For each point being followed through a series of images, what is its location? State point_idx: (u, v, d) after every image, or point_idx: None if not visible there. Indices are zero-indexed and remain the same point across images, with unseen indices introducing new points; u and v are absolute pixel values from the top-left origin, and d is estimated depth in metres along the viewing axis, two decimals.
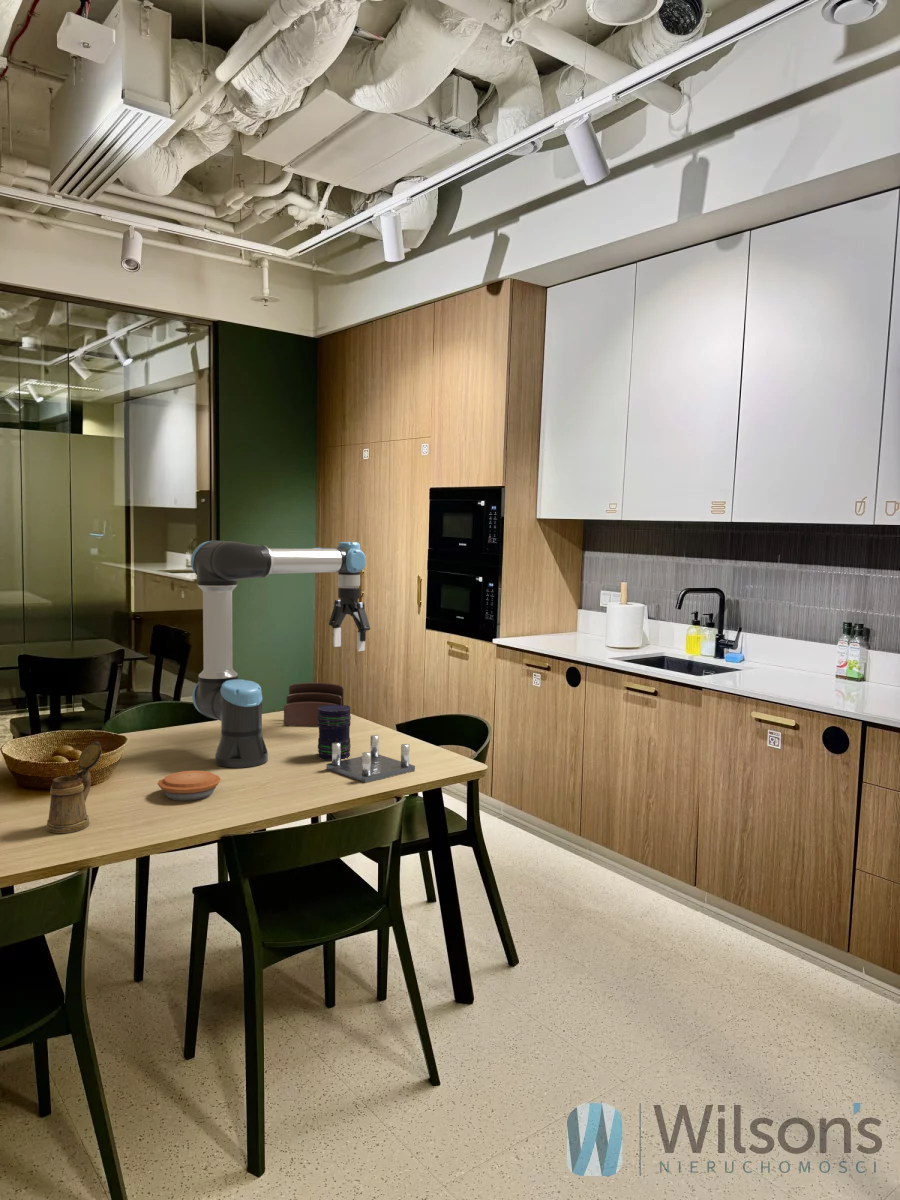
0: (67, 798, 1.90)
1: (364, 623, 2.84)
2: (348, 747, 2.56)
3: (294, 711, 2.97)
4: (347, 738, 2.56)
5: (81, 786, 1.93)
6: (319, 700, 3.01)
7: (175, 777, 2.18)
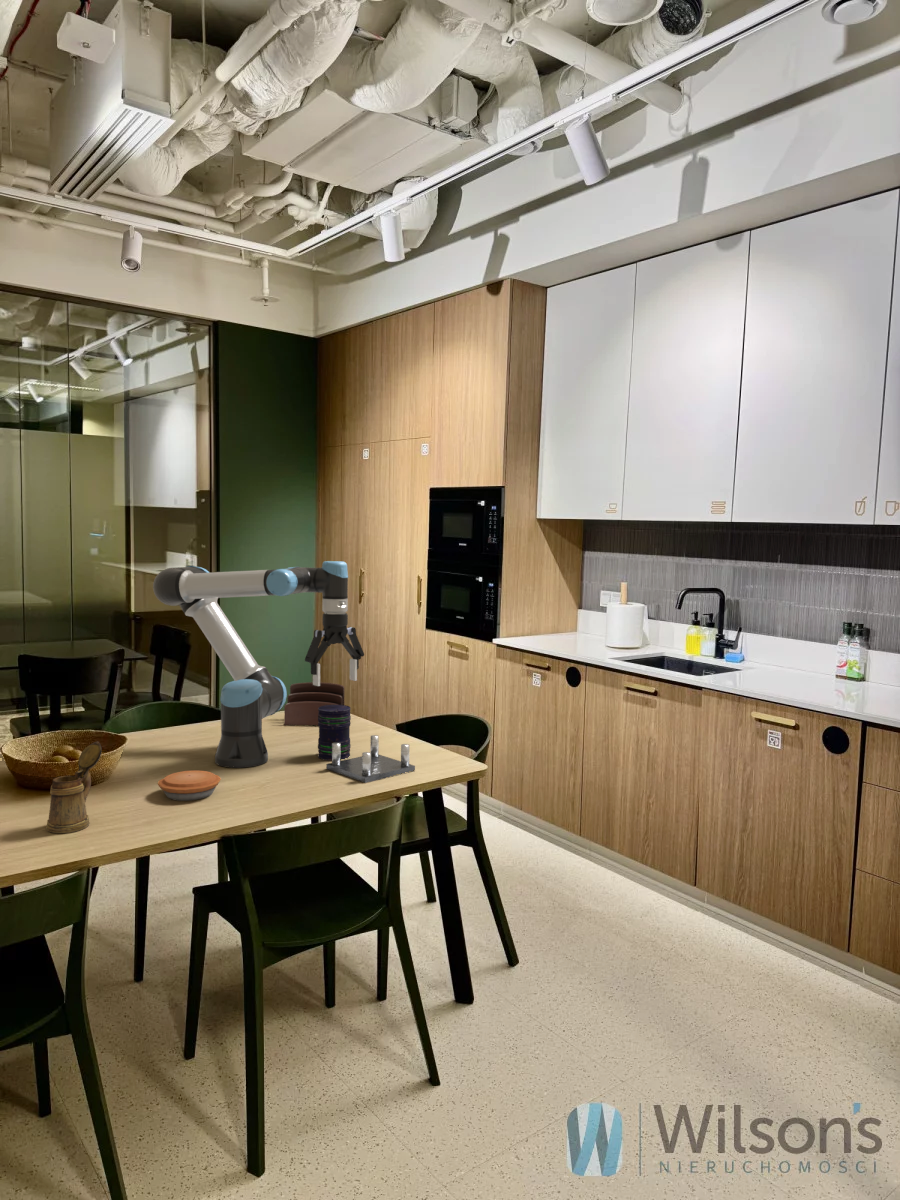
0: (67, 798, 1.90)
1: (308, 653, 2.49)
2: (348, 747, 2.56)
3: (295, 710, 2.98)
4: (347, 738, 2.56)
5: (81, 786, 1.93)
6: (320, 700, 3.02)
7: (175, 777, 2.18)
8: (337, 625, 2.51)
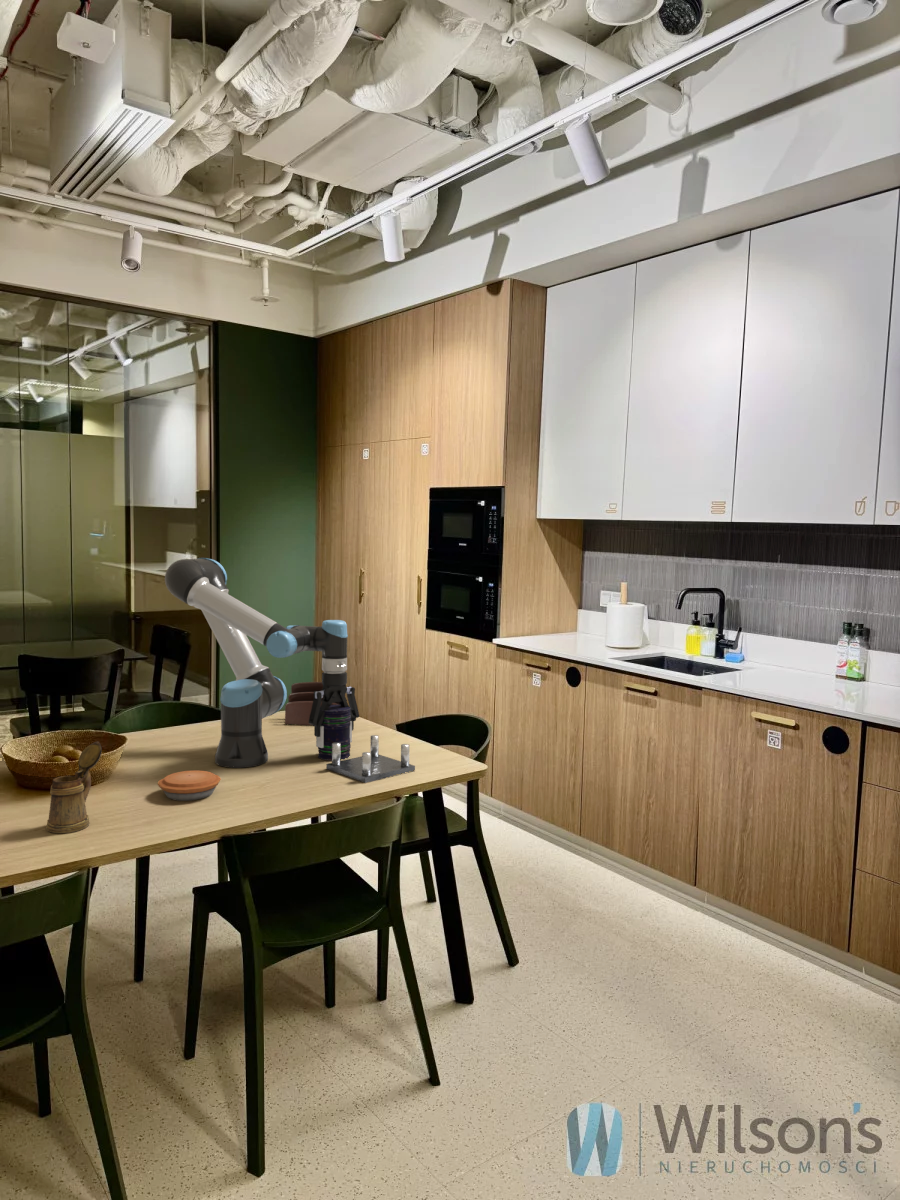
0: (67, 798, 1.90)
1: (310, 716, 2.52)
2: (348, 747, 2.56)
3: (295, 710, 2.99)
4: (347, 738, 2.56)
5: (81, 786, 1.93)
6: None
7: (175, 777, 2.18)
8: (336, 684, 2.53)
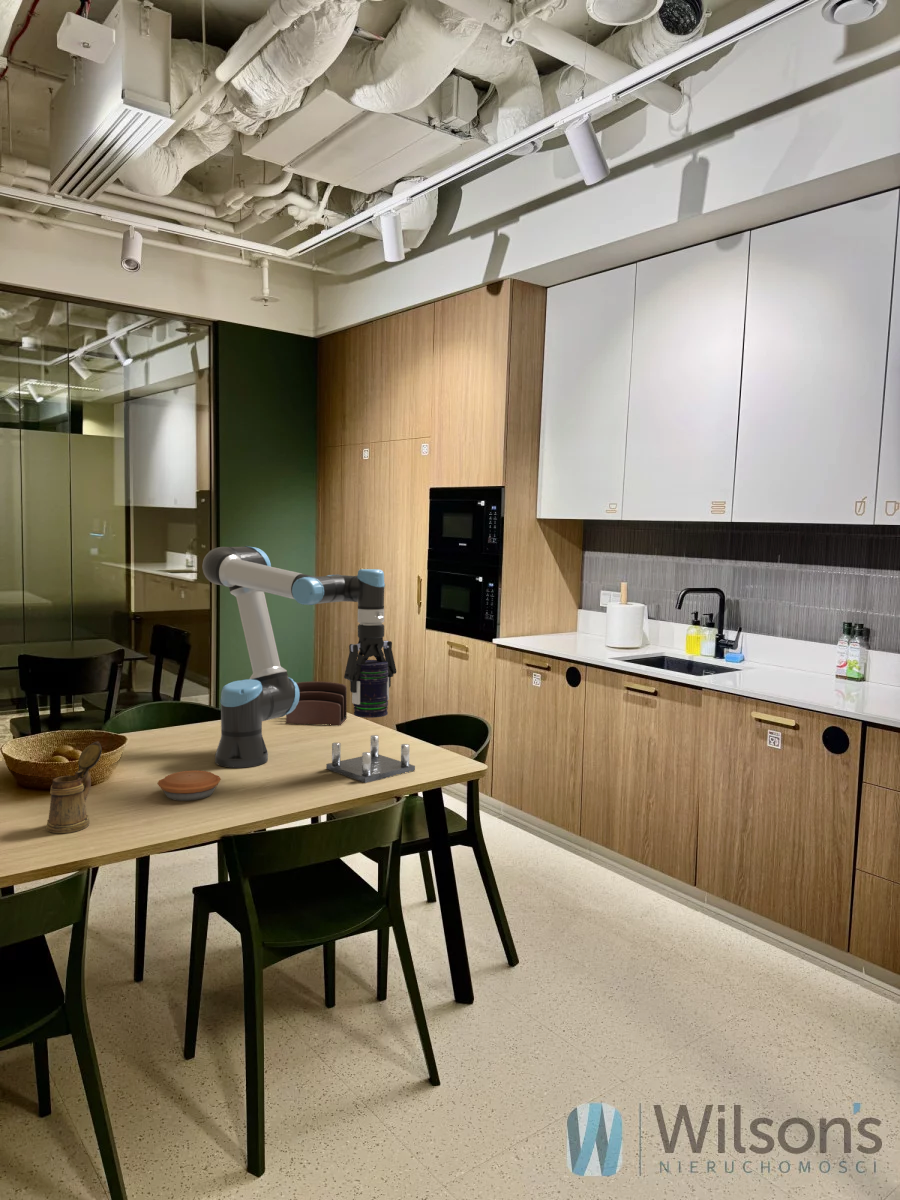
0: (67, 798, 1.90)
1: (346, 670, 2.36)
2: (386, 704, 2.41)
3: (296, 709, 3.00)
4: (385, 694, 2.41)
5: (81, 786, 1.93)
6: (321, 699, 3.03)
7: (175, 777, 2.18)
8: (374, 637, 2.38)
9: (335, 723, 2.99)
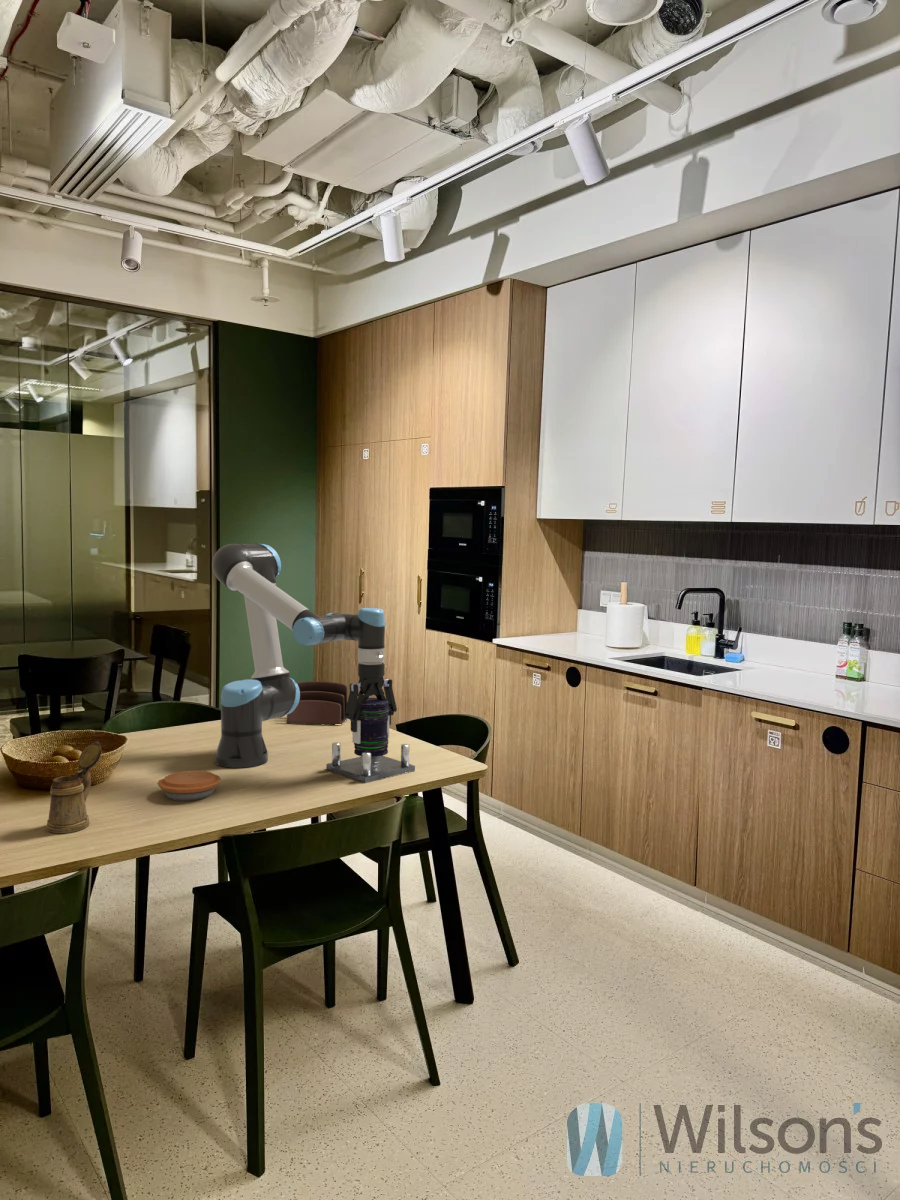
0: (67, 798, 1.90)
1: (347, 710, 2.37)
2: (386, 743, 2.41)
3: (297, 709, 3.01)
4: (385, 733, 2.41)
5: (81, 786, 1.93)
6: (322, 699, 3.04)
7: (175, 777, 2.18)
8: (374, 676, 2.38)
9: (335, 723, 2.99)
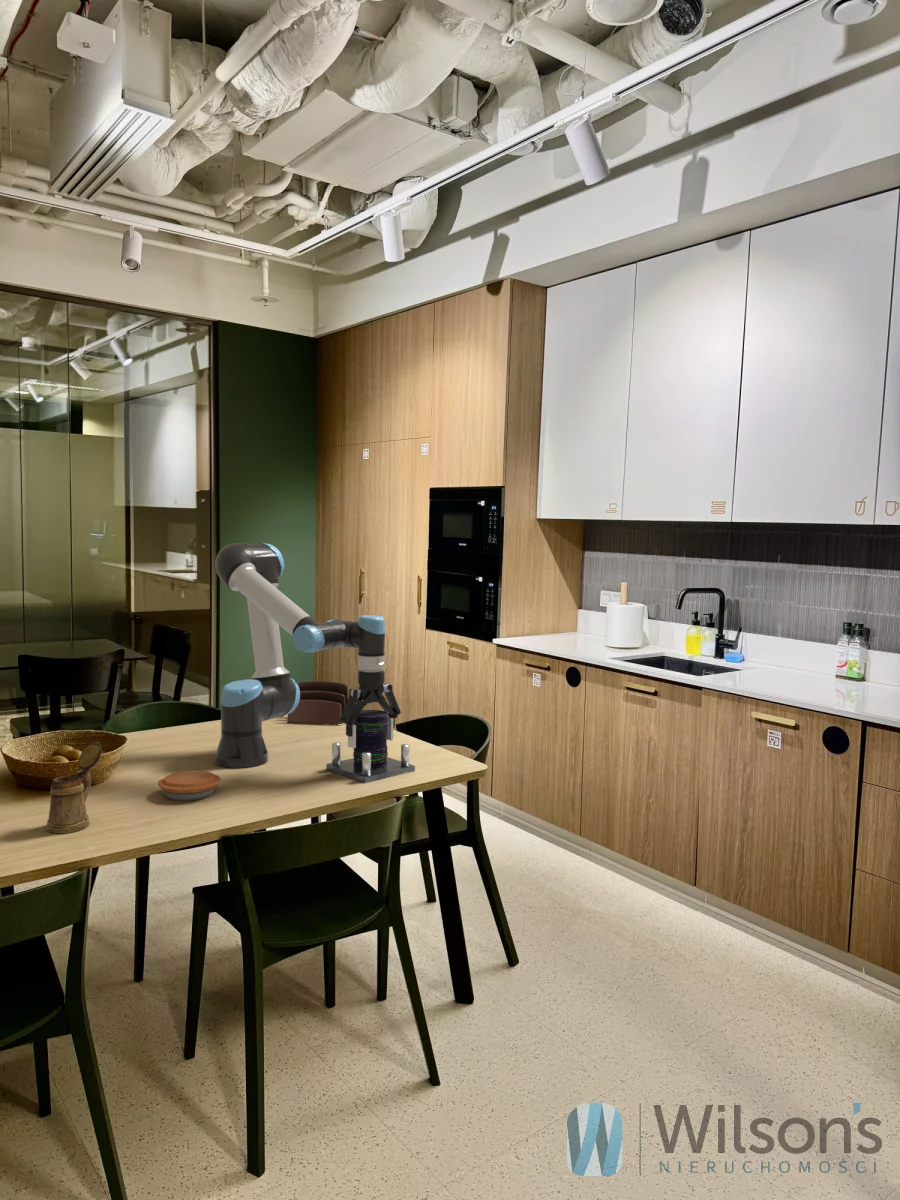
0: (67, 798, 1.90)
1: (343, 714, 2.36)
2: (385, 755, 2.42)
3: (297, 708, 3.01)
4: (384, 745, 2.41)
5: (81, 786, 1.93)
6: (323, 698, 3.04)
7: (175, 777, 2.18)
8: (374, 684, 2.38)
9: (336, 722, 3.00)
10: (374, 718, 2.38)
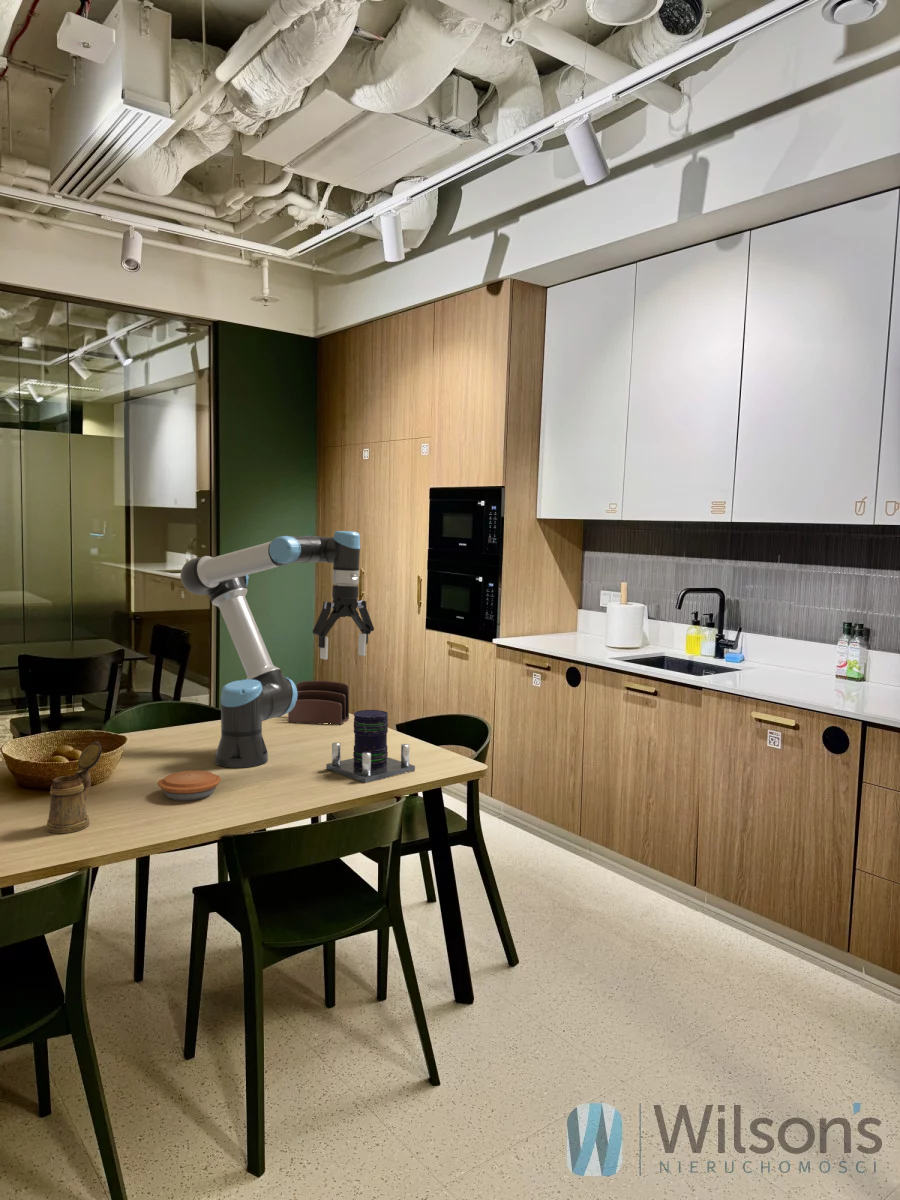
0: (67, 798, 1.90)
1: (316, 626, 2.41)
2: (385, 755, 2.41)
3: (298, 708, 3.02)
4: (384, 745, 2.41)
5: (81, 786, 1.93)
6: (323, 698, 3.05)
7: (175, 777, 2.18)
8: (347, 597, 2.43)
9: (336, 722, 3.00)
10: (374, 718, 2.38)
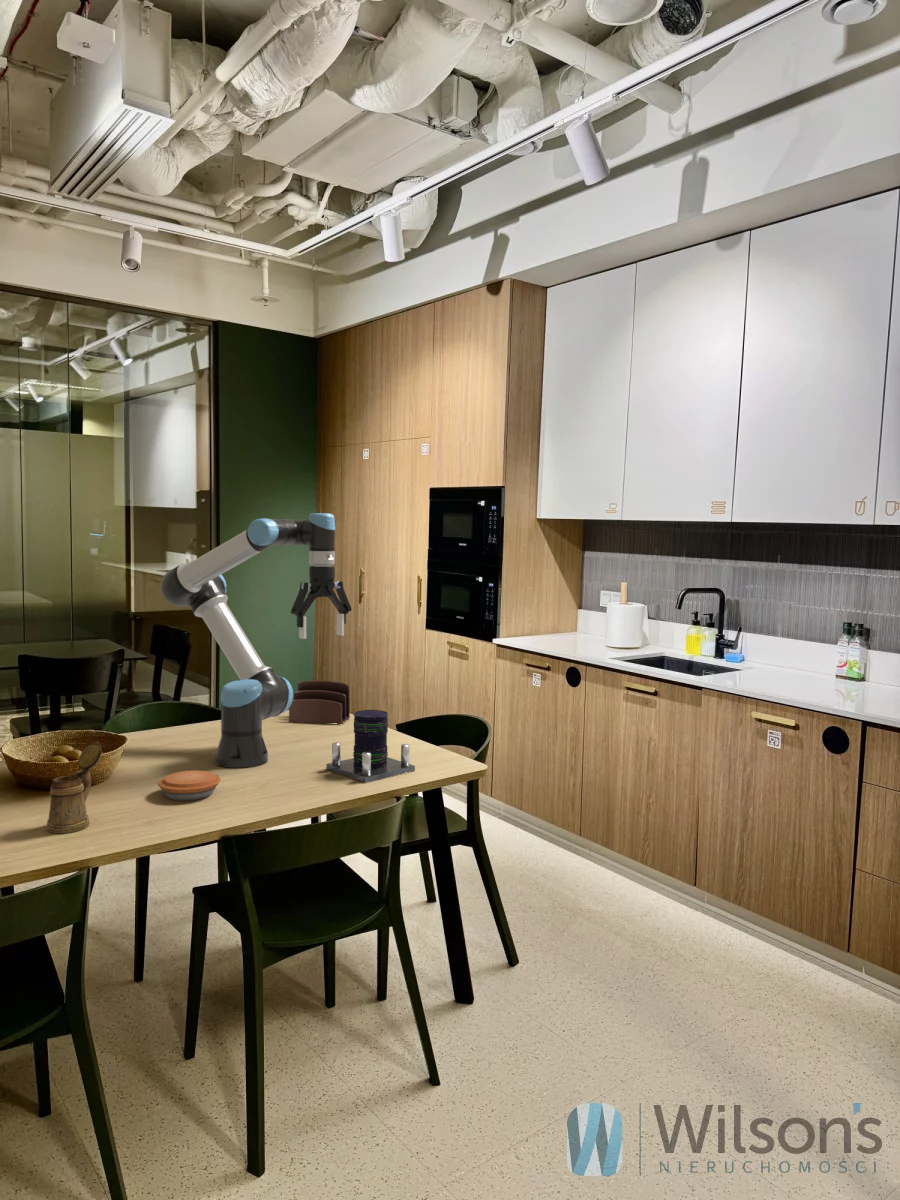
0: (67, 798, 1.90)
1: (294, 606, 2.46)
2: (385, 755, 2.41)
3: (299, 707, 3.03)
4: (384, 746, 2.41)
5: (81, 786, 1.93)
6: (324, 698, 3.05)
7: (175, 777, 2.18)
8: (324, 577, 2.48)
9: (336, 722, 3.00)
10: (374, 718, 2.38)
